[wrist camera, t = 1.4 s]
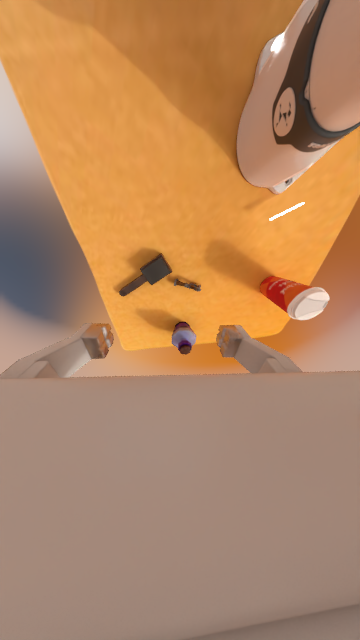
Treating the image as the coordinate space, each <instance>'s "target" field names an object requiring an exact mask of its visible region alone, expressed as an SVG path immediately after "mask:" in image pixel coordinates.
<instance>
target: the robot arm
mask: <svg viewBox="0 0 360 640" xmlns="http://www.w3.org/2000/svg"><path fill="white" fill-rule="evenodd" d="M358 126H360V0H304V1H303V2H302V4H301V5H300V7H299V9H298V10H297V12H296V13H295V15H294V17H293V18H292V20H291V21H290V23H289V25H288V26H287V28H286V30H285V31H284V32H282V33H280V34H279V35H277V36H275V37H274V38H272V39H270V40H269V41H268V42H267V43H266V45H265V47H264V48H263V50H262V52H261V54H260V57H259V60H258V64H257V68H256V73H255V79H254V84H253V87H252V90H251V93H250V95H249V97H248V100H247V102H246V104H245V107H244V109H243V112H242V116H241V119H240V123H239V128H238V134H237V158H238V163H239V167H240V170H241V172H242V174H243V176H244V177H245V179H246V180H247V181H248V182H249V183H250V184H252V185H254V186H257V187H265V188H268V189H269V190H271V191H272V192H273V193H274V194H280V193H282V192H283V191H285V190H286V189H287V188H288V187H289V186H290V185H291V184H292V183H293V182H294V181H296V180H297V179H298V178H299V177H300V176H301V175H302V174H303V173H304V172H305V171H306V170H308V169H309V168H310V167H311V166H312V165H313V164H314V163H315V162H316V161H317V160H319V159H320V158H321V157H322V156H323V155H324V154H325V153H326V152H327V151H328V150H329V149H331V148H332V147H333V146H334V145H335V144H336V143H337V142H338V141H339V140H340V139H342V138H343V137H344V136H346V135H347V134H349V133H350V132H352V131H353V130H354V129H356V128H357V127H358ZM286 180H287V182H286V183H285V181H286ZM303 204H304V202H303V203H300V204H298V205H296V206H294V207H292V208H290V209H288V210H286V211H284V212H282V213H280V214H278V215H276V216H274V217H272V218H270V220H273V219H275V218H277V217H279V216H281V215H283V214H285V213H287V212H289V211H291V210H293V209H295V208H297V207H299V206H301V205H303ZM110 330H111V327H110V325H109V324H98V323H97V324H96V323H95V324H93V323H86V324H84V325H83V326H82V327H81V328H80V329H79V330H78V331H77V332H76V333H75V334H74V335H73V336H72V337H71V338H67V339H64V340H62V341H60V342H58V343H56V344H53V345H51V346H49V347H47V348H44V349H42V350H40V351H38V352H35V353H33V354H31V355H29V356H27V357H24V358H22V359H20V360H18V361H16V362H15V363H14V364H13V365H11V366H10V367H9V368H8V369H7V370H5V371H4V372H3V373H2V374H0V640H360V371H338V372H302V371H301V370H300V369H299V368H298V367H297V366H296V365H295V364H294V363H293V361H291V359H290V358H289V357H287V356H285V355H283V354H281V353H279V352H277V351H276V350H274V349H272V348H270V347H268V346H266V345H264V344H262V343H261V342H259V341H257V340H255V339H251V338H250V336H249V335H248V334H247V333H246V331H245V330H244V329H243V328H242V326H240V325H220V327H219V331H220V332H219V333H218V334H217V338H216V341H217V345H218V346H219V347H220V348H221V349H220V352H221V354H222V356H223V357H234V358H235V359H236V360H237V361H238V362H239V363H241V364H242V365H243V366H244V367H245V368H246V369H247V370H249V371H250V372H251V373H249V374H208V375H207V374H203V375H160V376H159V375H158V376H115V377H72V378H71V377H70V376H71V375H72V374H74V373H75V372H76V371H77V370H78V369H80V368H81V367H82V366H83V365H85V364H86V363H88V362H89V361H90V360H91V359H99V358H105V357H106V355H107V353H108V351H109V350H108V348H109V347H111V346H112V344H113V340H114V339H113V334H112V333H111V332H110ZM68 377H70V378H68Z"/></svg>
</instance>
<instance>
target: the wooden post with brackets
mask: <svg viewBox="0 0 360 640" xmlns="http://www.w3.org/2000/svg"><path fill="white" fill-rule="evenodd" d="M176 285H181V286H185V287H187V288H189V289H190V288H191V289H194V290H195V291H201V289H200V287H201V285H198V286H197V285H195V284H193V283H190V284H187V283H183V282H180V281H178V279H175V283H174V286H176Z"/></svg>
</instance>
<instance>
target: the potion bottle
mask: <svg viewBox="0 0 360 640" xmlns="http://www.w3.org/2000/svg"><path fill="white" fill-rule="evenodd" d="M195 341H196V335H195V333H194V332H193V331H192V330H191V328H190V326H189V324H187V323H186V322H179V323H178V324H177V325H175V330H174V331H173V335H172V344H173V345H174V346H176V347H177V348H178V350H179V351H180V353H181V354H188V353H190V350H191V347H192V345H193V344H195Z"/></svg>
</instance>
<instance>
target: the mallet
mask: <svg viewBox="0 0 360 640" xmlns="http://www.w3.org/2000/svg"><path fill="white" fill-rule="evenodd" d="M140 270H141V272H142V273H143V274H142V275H141V276H140V277H138V278H137V279H135V280H134V281H132V282H131V283H129V284H128V285H127V286H125V287H124V288H122V289H121V290H120V291H119V294H120V295H121V296H126V295H127V294H129V293H130V292H132V291H133V290H135V289H136V288H137V287H139V286H140V285H142V284H143V283H145V282H146V281H149V283H150V284H151V285H153V284H154V283H156V282H157V281H159V280H161V279H162V278H164V277H165V276H167V275H168V274H170V273H171V272H172V269H171V268H170V266H169V264H168V263H167V261H166V260H165V258H164V256H163V255H162V253H161V254H160V255H158V256H157V257H156V258H154V259H153V260H151V261H150V262H149V263H147V264H146V265H144V266H143V267H142V268H141V269H140Z"/></svg>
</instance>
